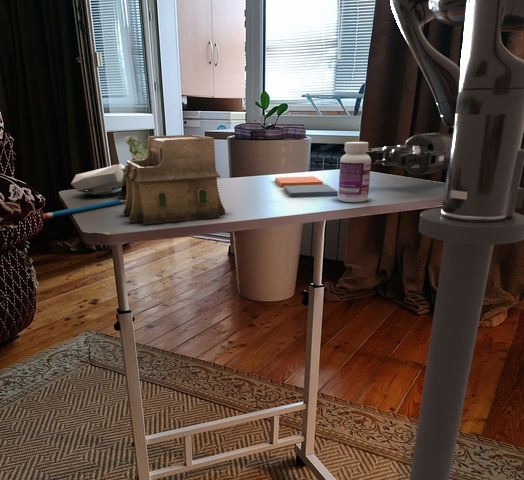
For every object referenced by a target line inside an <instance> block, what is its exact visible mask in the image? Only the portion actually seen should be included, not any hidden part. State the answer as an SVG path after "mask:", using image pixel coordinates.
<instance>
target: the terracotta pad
mask: <svg viewBox="0 0 524 480" xmlns="http://www.w3.org/2000/svg"><path fill="white" fill-rule="evenodd" d="M274 182H275V183H276V184H277V185H278V186H279V187H280V188H284V186H298V185H324V182H323V181H322V180H321V179H319V178H317V177H316V176H285V177H282V176H281V177H275V179H274Z"/></svg>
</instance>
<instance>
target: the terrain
mask: <svg viewBox="0 0 524 480" xmlns="http://www.w3.org/2000/svg"><path fill="white" fill-rule="evenodd" d="M124 137H125V138H124V141H125V143H126V145H128V148H129V150H128V152H129V154H130V156H131V157H132V158H134V159H135V160H144V159H145V158H146V157H147V155H148V146H146V144H145V143H144V142H142V141H141V140H139V139H138V138H137V137H134V136H131V135H127V136H124Z"/></svg>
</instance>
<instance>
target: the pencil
mask: <svg viewBox="0 0 524 480" xmlns="http://www.w3.org/2000/svg"><path fill="white" fill-rule="evenodd" d="M123 203H126V199H115V200H110V201H105V202H99V203H94V204H89V205H84V206H79V207H74V208H73V207H72V208H68V209H63V210H57V211H52V212H47V213H42V214H41V217H42V219H44V220H47V219H52V218H57V217H61V216H65V215H66V216H68V215H71V214H77V213H81V212H87V211H93V210H96V209H103V208H107V207H111V206H117V205H121V204H123Z"/></svg>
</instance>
